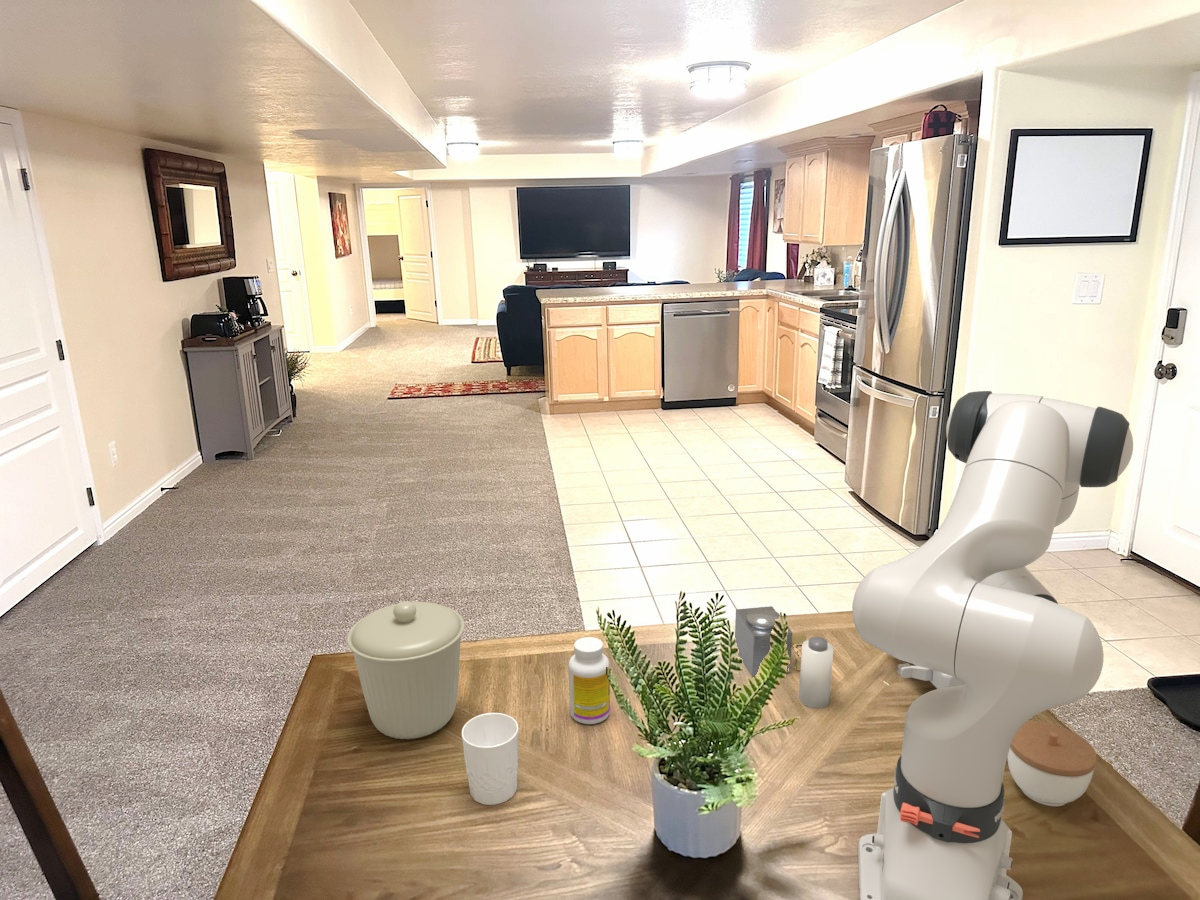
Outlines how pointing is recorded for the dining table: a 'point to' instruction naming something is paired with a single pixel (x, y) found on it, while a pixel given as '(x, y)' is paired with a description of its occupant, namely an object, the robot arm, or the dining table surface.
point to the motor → (760, 636)
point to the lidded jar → (1051, 763)
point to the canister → (408, 666)
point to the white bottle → (816, 672)
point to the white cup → (491, 757)
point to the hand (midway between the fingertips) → (885, 655)
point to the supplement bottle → (589, 682)
